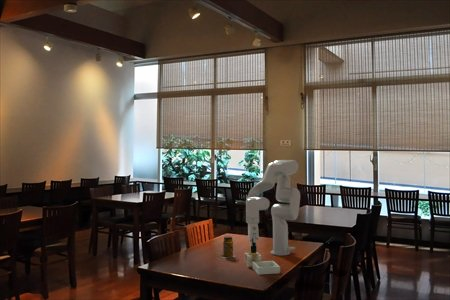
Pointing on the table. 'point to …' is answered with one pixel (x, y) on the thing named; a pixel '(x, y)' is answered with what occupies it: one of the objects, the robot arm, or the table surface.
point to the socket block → (251, 259)
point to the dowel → (250, 250)
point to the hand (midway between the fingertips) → (253, 251)
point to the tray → (266, 267)
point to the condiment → (227, 247)
